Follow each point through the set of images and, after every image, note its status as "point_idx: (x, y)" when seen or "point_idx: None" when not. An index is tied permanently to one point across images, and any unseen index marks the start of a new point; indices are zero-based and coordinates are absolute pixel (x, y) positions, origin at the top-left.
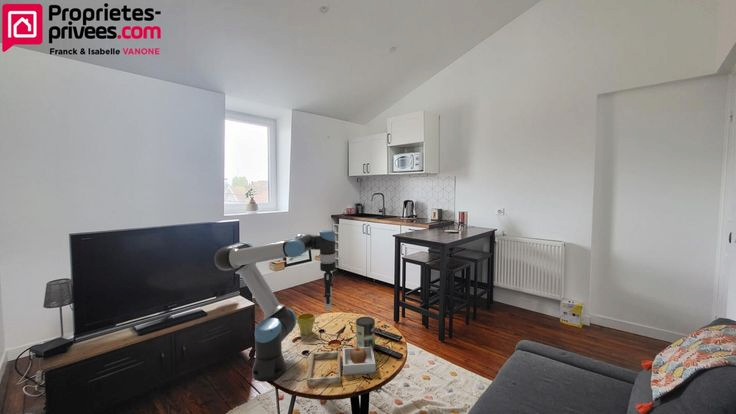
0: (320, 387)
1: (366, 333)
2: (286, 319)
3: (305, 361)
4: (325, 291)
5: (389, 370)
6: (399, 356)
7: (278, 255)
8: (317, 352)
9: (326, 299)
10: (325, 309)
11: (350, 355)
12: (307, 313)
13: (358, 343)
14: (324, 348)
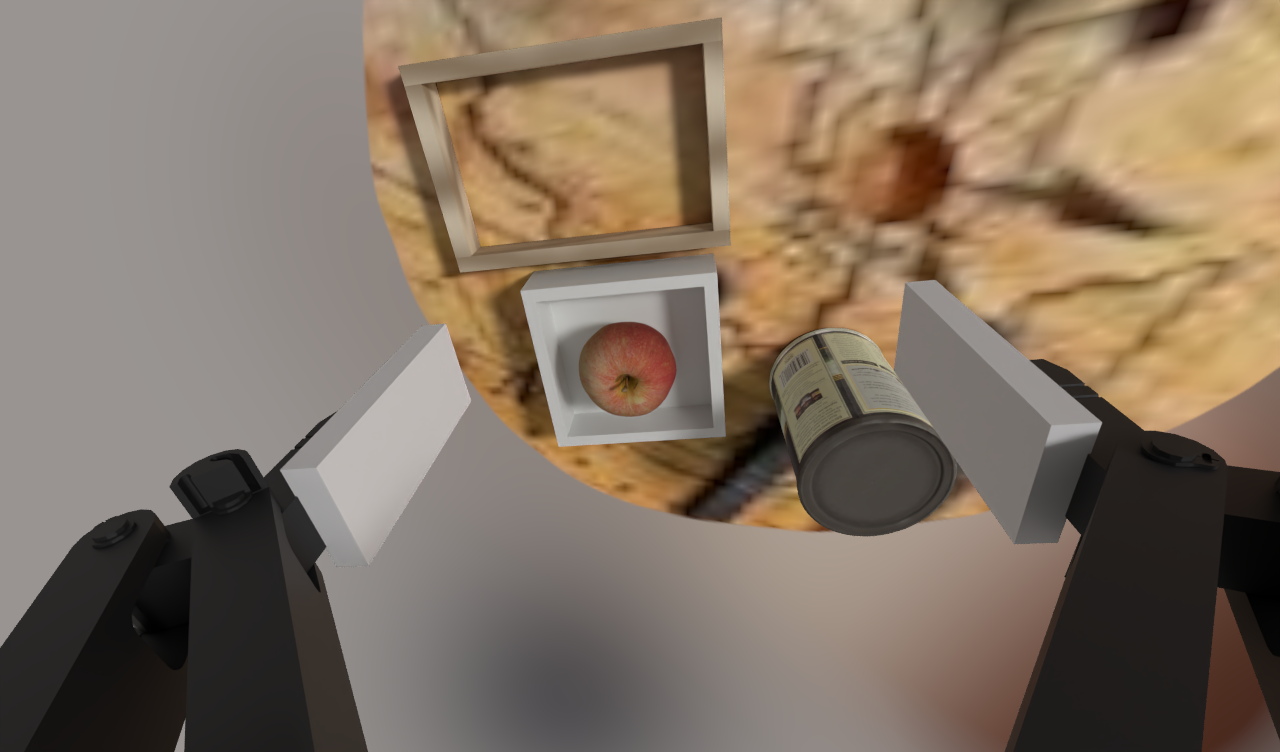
0: (414, 157)
1: (787, 445)
2: None
3: None
4: (24, 642)
5: (591, 470)
6: (700, 515)
7: None
8: (721, 71)
9: (269, 473)
10: (417, 335)
11: (611, 331)
12: None
13: (801, 356)
14: (836, 104)
